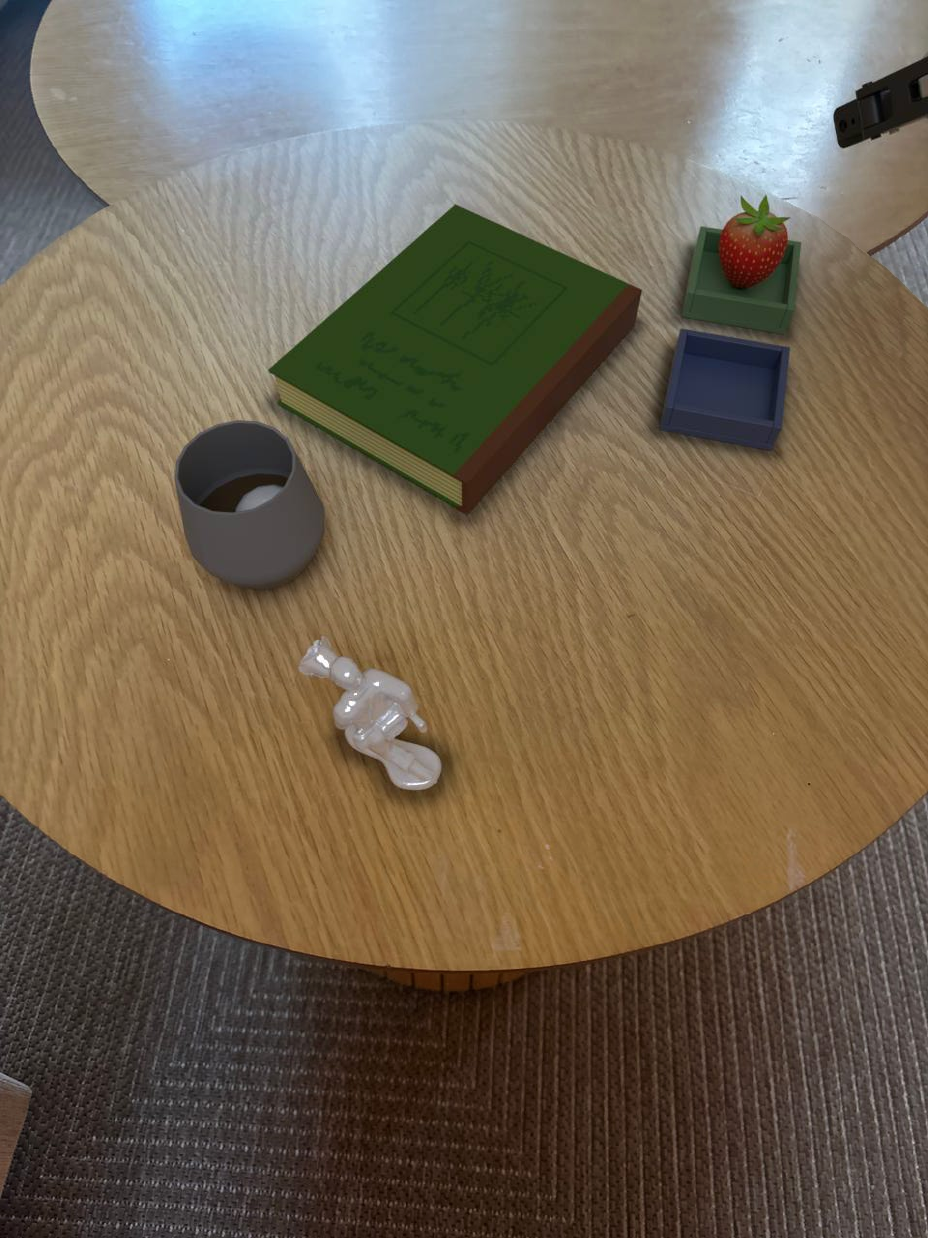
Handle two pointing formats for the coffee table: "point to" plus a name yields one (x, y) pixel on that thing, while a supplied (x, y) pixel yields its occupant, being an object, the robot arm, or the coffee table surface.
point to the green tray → (740, 289)
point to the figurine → (376, 716)
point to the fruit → (752, 245)
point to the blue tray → (726, 389)
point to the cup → (248, 505)
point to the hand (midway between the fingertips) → (898, 108)
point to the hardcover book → (457, 354)
